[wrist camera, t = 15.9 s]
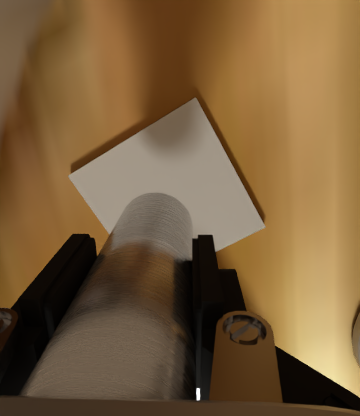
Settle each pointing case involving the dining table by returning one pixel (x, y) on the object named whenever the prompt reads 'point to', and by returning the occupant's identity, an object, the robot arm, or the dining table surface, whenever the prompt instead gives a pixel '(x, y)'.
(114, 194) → the pad
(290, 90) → the dining table surface
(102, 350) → the steel peg
